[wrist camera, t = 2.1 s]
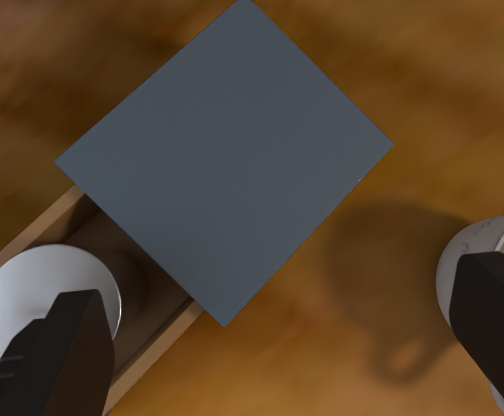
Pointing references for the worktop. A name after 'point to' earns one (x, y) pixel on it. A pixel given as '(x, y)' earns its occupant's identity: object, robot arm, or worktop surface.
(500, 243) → the teacup
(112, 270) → the brushed steel cylinder
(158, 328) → the drawer
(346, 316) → the worktop surface
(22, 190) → the worktop surface
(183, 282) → the cabinet
